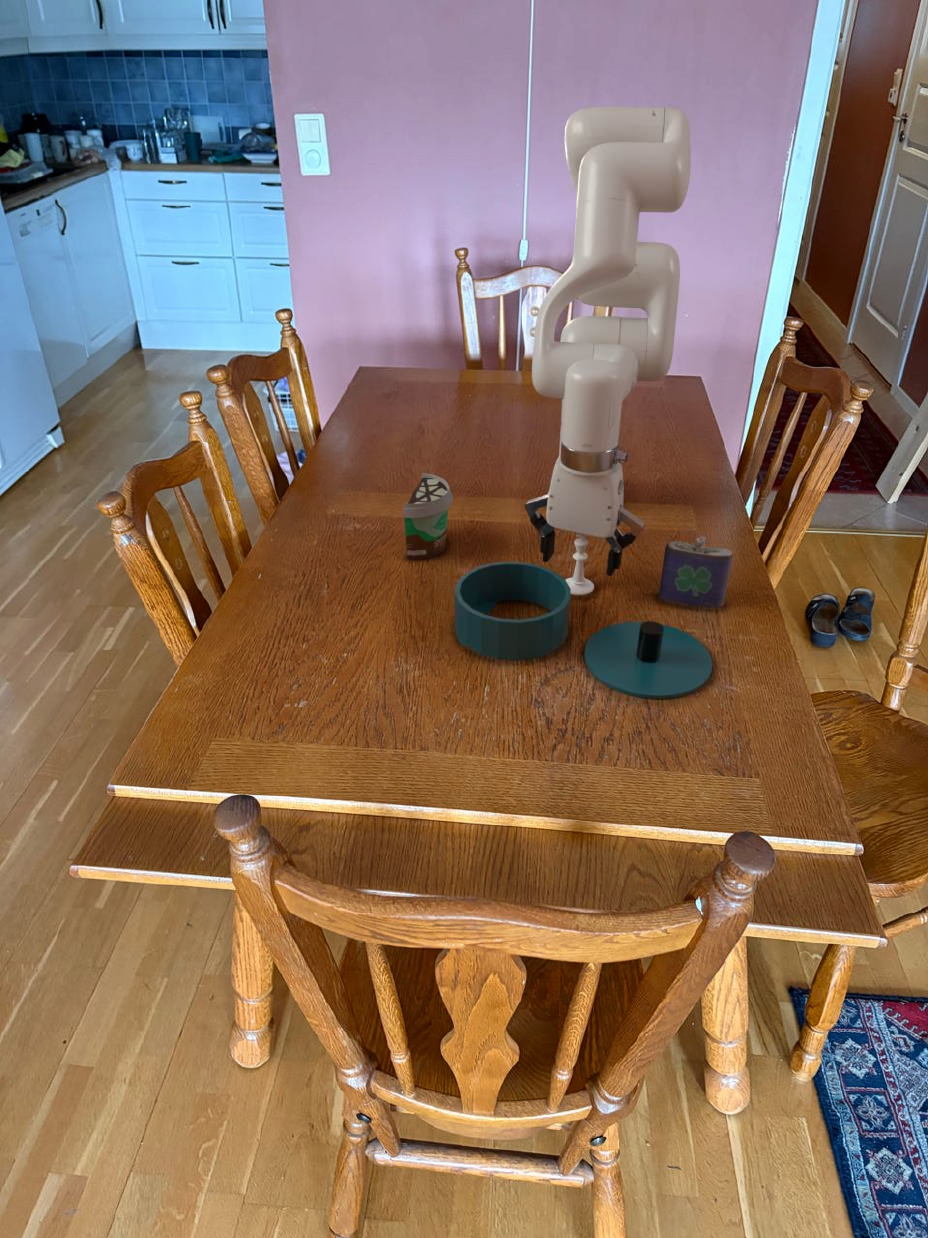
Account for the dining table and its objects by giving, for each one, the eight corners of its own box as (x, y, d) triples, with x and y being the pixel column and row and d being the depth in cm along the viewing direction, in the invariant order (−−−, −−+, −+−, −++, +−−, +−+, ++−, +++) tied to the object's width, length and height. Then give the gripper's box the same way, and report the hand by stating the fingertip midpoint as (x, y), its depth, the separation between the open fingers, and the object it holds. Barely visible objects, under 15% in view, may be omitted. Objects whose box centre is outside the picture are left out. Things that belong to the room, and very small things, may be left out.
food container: (443, 567, 140) (442, 509, 134) (404, 563, 141) (402, 505, 136) (460, 530, 150) (460, 474, 145) (423, 527, 151) (422, 471, 146)
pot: (481, 591, 134) (482, 552, 131) (582, 614, 129) (585, 575, 126) (436, 646, 123) (436, 606, 119) (545, 675, 117) (548, 633, 114)
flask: (723, 602, 132) (735, 537, 126) (722, 613, 130) (734, 547, 124) (658, 593, 134) (667, 528, 128) (656, 603, 132) (665, 538, 126)
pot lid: (604, 618, 129) (607, 583, 125) (722, 645, 123) (728, 609, 120) (567, 683, 116) (570, 646, 113) (696, 716, 110) (703, 679, 107)
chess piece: (558, 581, 137) (562, 521, 131) (590, 580, 137) (596, 520, 132) (563, 599, 133) (568, 538, 127) (597, 597, 133) (603, 536, 127)
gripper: (658, 455, 123) (644, 564, 133) (537, 434, 129) (532, 541, 138) (644, 476, 117) (630, 590, 127) (518, 454, 123) (514, 564, 133)
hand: (579, 564), depth 133 cm, fingers open, 9 cm apart
